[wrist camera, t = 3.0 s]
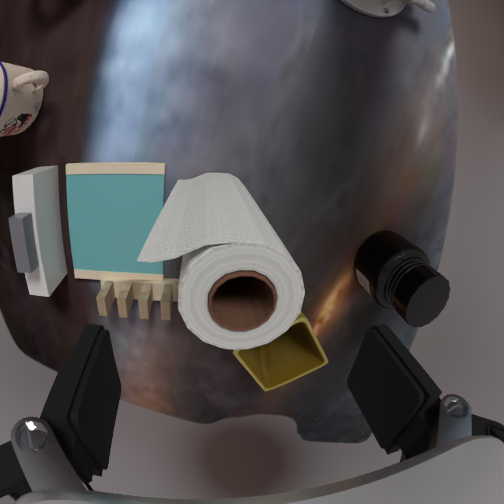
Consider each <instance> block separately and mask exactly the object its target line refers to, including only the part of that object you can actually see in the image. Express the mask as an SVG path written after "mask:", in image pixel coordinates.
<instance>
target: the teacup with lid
mask: <svg viewBox="0 0 504 504" xmlns="http://www.w3.org/2000/svg"><path fill="white" fill-rule="evenodd" d="M48 82H49V76H48V74H47V73H46V72H44V71H34V70H32V69H29V68H25V67H21V66H17V65H13V64H8V63H3V62H1V61H0V137H2V136H9V135H16V134H19V133H21V132H23V131H24V130H26V129H27V128H28V127H29V126H30V125H31V124H32V122H33V121H34V120H35V118H36V116H37V114H38V112H39V110H40V107H41V104H42V100H43V88H44V87H45V86H46V85H47V84H48Z"/></svg>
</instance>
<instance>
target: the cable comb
mask: <svg viewBox="0 0 504 504" xmlns="http://www.w3.org/2000/svg"><path fill="white" fill-rule="evenodd" d="M100 281H101V290H100V292H99V294H98V296H97V297H96V298H97V304H98V310H99V315H102V316H108V313H109V311H110V309H111V306H112V304H113V302H114V300H115V298H117V304H118V312H119V317H125V318H128V315H129V312H130V309H131V306H132V303H133V300H134V299H139V300H138V304H139V313H140V319H149V315H150V311H151V307H152V303H153V300H156V301H161V302H160V303H161V320H170V319H171V311H172V305H173V301H176V302H178V285H179V279H175V278H164V279H163V281H159V280H141V279H123V278H108V277H102V278H101V280H100Z"/></svg>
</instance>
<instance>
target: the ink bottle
mask: <svg viewBox="0 0 504 504" xmlns="http://www.w3.org/2000/svg"><path fill="white" fill-rule="evenodd" d="M354 272H355V276H356V278H357V280H358V281H359V283H360V284H361V285H362V286H363V287H364V288H365V290H366V291H367V292H368V293H369V294H370V295H371V296H372V298H373V299H374V300H376V302H377V303H378V304H379V305H381V306H382V307H384V308H387V309H395V310H396V311H397V312H398V313H399V315H400V316H401V317H402V318H403V319H404V320H405V321H406V322H407V323H408V324H409V325H411V326H412V327H422V326H424V325H426V324H429V323H430V322H431V321H433V320H434V319H435V318H436V317H437V316H438V315H439V314H440V312H441V311H442V310H443V309H444V307H445V305H446V302H447V300H448V298H449V292H450V286H449V281H448V280H447V279H446V278H445V277H444V276H443V275H441V274H440V273H439V272H437V271H436V270H435V269H433V268H432V267H431V266H430V264H429V260H428V257H427V256H426V254H425V253H424V252H423V251H422V250H421V249H420V248H418V247H417V246H415V245H414V244H412V243H411V242H409V241H408V240H406V239H405V238H403V237H402V236H400V235H399V234H397V233H395V232H392V231H381V232H377V233H375V234H373V235H371V236H370V237H369V238H368V239H367V240H366V241H365V242H364V243H363V244H362V246H361V247H360V249H359V251H358V253H357V255H356V259H355V263H354Z"/></svg>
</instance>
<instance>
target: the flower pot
mask: <svg viewBox="0 0 504 504" xmlns="http://www.w3.org/2000/svg"><path fill="white" fill-rule="evenodd" d="M233 354H234V355H235V357H236V358H237V359H238V360H239V361H240V363H241V364H242V365H243V366H244V367H245V369H246V370H247V371H248V372H249V373H250V375H251V376H252V377H253V378H254V379H255V381H256V382H257V383H258V384H259V385H260V387H261V388H262V389H263V390H264V391H269V390H272V389H275V388H277V387H280V386H282V385H284V384H286V383H289V382H291V381H293V380H295V379H297V378H300V377H302V376H304V375H306V374H308V373H310V372H312V371H314V370H317V369H319V368H320V367H322V366H324V365H326V364H327V363H328V359H327V357H326V355H325V353H324V351H323V349H322V347H321V346H320V344H319V342H318V340H317V338H316V336H315V334H314V332H313V329H312V327H311V325H310V323H309V321H308V320H307V318H306V316H305V315H304V314H303V312H302V311H300V314H299V315H298V317H297V318H296V319H295V321H294V322H293V323H292V325H291V326H290V327H289V329H288V330H287V331H286V332H284V333H283V334H281V335H280V336H278V337H277V338H275V339H274V340H272V341H271V342H269V343H267V344H264V345H260V346H257V347H254V348H250V349H233Z"/></svg>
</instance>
